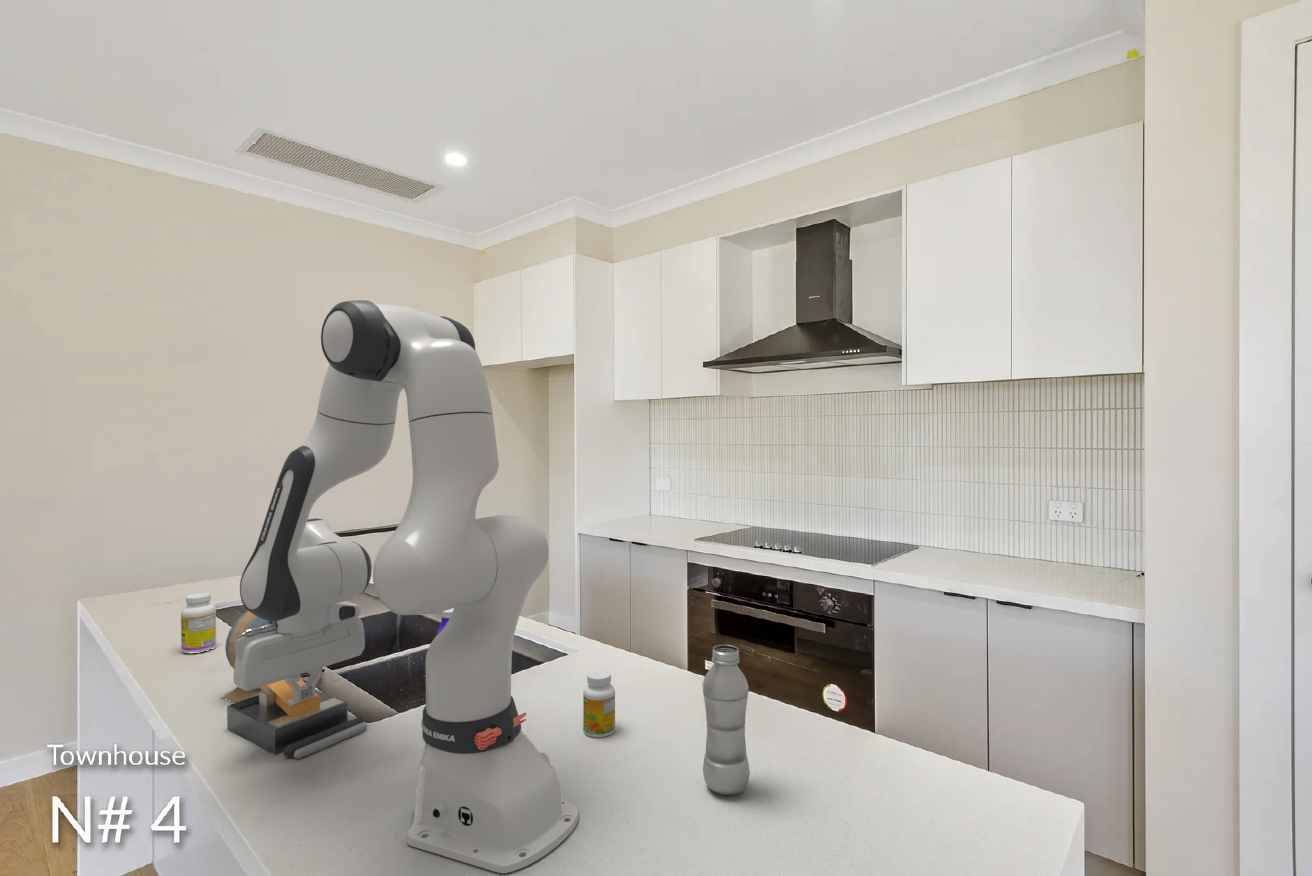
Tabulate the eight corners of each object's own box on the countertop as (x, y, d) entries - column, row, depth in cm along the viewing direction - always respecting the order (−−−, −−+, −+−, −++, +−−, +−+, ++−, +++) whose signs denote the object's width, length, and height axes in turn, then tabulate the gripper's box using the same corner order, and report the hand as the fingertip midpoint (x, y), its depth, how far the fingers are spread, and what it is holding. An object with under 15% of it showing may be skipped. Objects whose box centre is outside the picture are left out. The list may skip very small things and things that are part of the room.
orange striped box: (319, 705, 109) (321, 695, 109) (289, 716, 105) (291, 706, 104) (284, 673, 115) (285, 664, 115) (254, 682, 111) (255, 673, 111)
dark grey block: (347, 725, 111) (347, 683, 111) (275, 755, 101) (274, 709, 100) (298, 703, 119) (298, 665, 119) (227, 729, 109) (226, 687, 109)
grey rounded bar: (358, 725, 111) (358, 715, 111) (369, 730, 109) (369, 719, 109) (281, 757, 100) (281, 746, 100) (292, 763, 98) (292, 751, 98)
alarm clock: (251, 709, 117) (250, 613, 117) (214, 701, 121) (213, 608, 120) (317, 680, 131) (316, 594, 130) (282, 674, 134) (281, 590, 134)
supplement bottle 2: (576, 731, 108) (576, 674, 108) (600, 720, 112) (600, 665, 112) (598, 741, 105) (597, 683, 104) (621, 730, 109) (621, 673, 108)
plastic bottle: (738, 807, 86) (738, 660, 86) (694, 792, 90) (694, 651, 90) (757, 784, 92) (757, 646, 92) (714, 771, 95) (714, 638, 95)
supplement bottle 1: (185, 647, 150) (184, 593, 150) (219, 643, 153) (218, 590, 153) (178, 657, 144) (177, 600, 144) (213, 652, 147) (212, 597, 147)
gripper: (244, 635, 96) (246, 726, 97) (369, 604, 114) (370, 681, 114) (224, 629, 100) (226, 717, 100) (348, 599, 117) (349, 674, 117)
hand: (304, 697), depth 107 cm, fingers closed, pressing on orange striped box
